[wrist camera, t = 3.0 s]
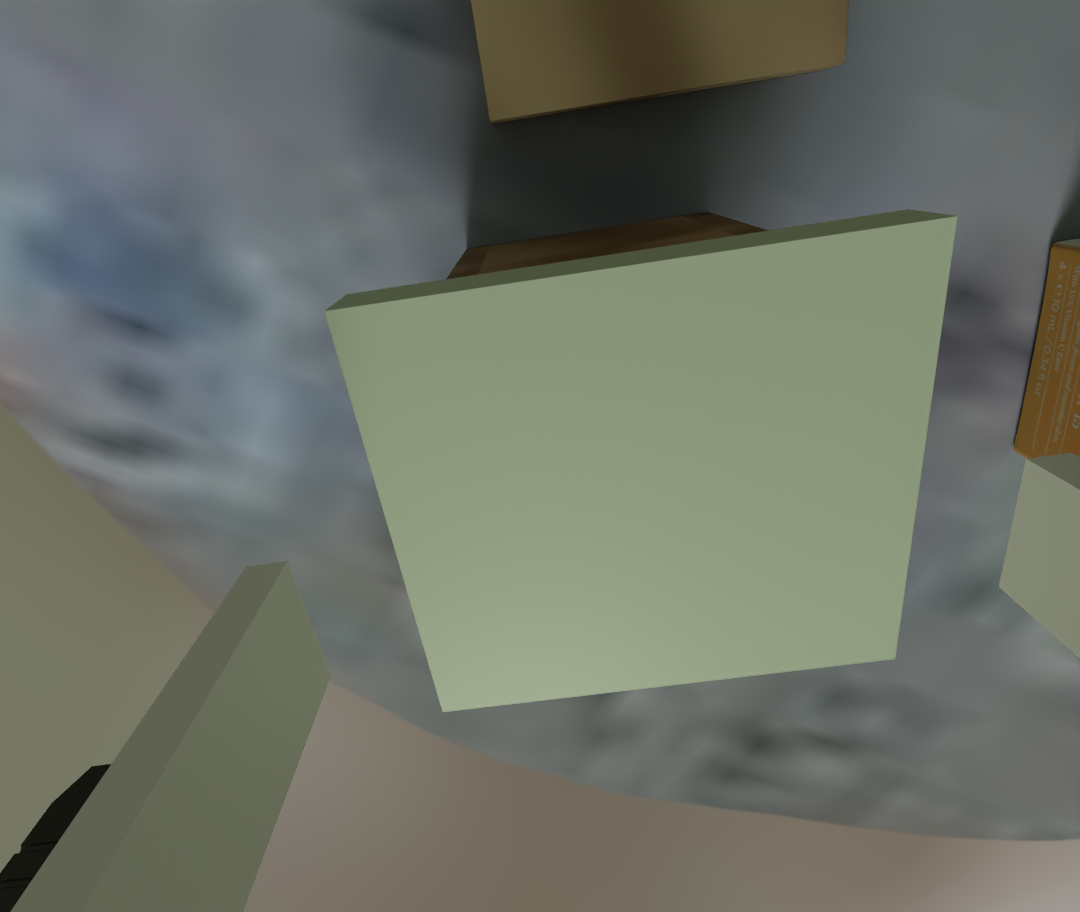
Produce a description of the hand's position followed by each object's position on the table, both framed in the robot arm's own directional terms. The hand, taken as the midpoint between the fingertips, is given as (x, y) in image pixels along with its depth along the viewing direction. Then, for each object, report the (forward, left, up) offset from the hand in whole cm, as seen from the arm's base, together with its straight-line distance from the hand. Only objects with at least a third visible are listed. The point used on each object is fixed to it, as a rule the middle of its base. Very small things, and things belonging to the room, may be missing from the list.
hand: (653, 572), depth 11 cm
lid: (0, 0, -3) cm, 3 cm away
